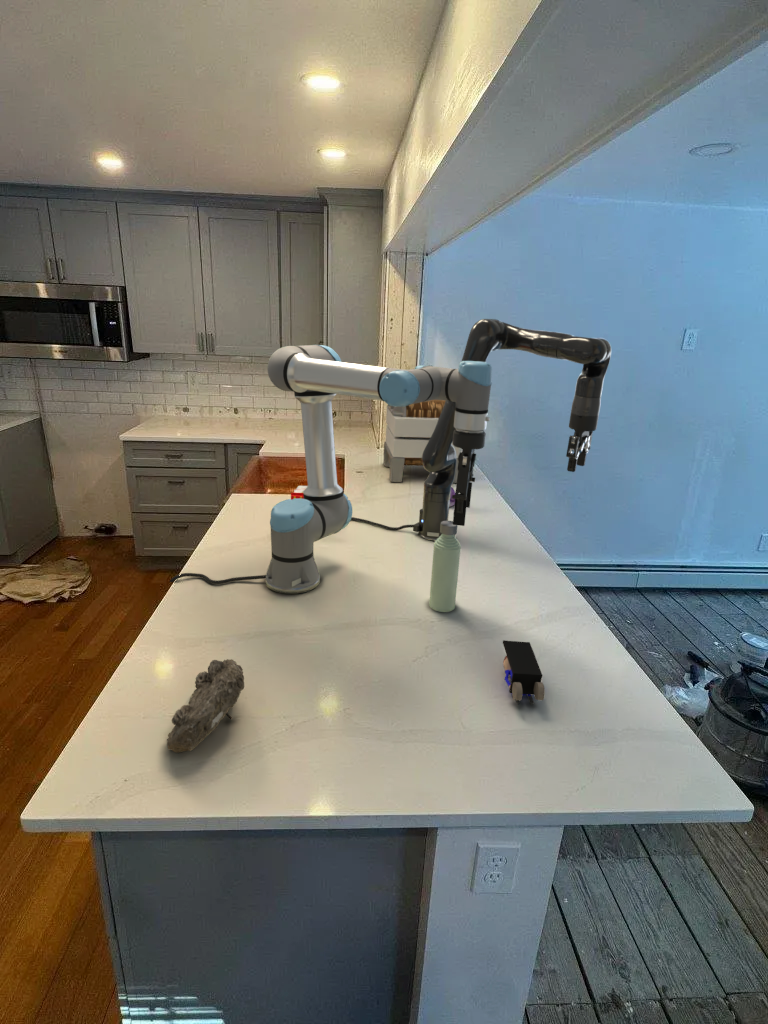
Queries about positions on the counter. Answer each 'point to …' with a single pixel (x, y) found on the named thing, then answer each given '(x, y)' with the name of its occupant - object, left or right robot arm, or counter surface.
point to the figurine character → (522, 671)
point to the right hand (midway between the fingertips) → (575, 468)
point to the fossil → (206, 705)
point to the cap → (448, 528)
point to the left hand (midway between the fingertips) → (461, 515)
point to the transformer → (410, 435)
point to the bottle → (444, 573)
